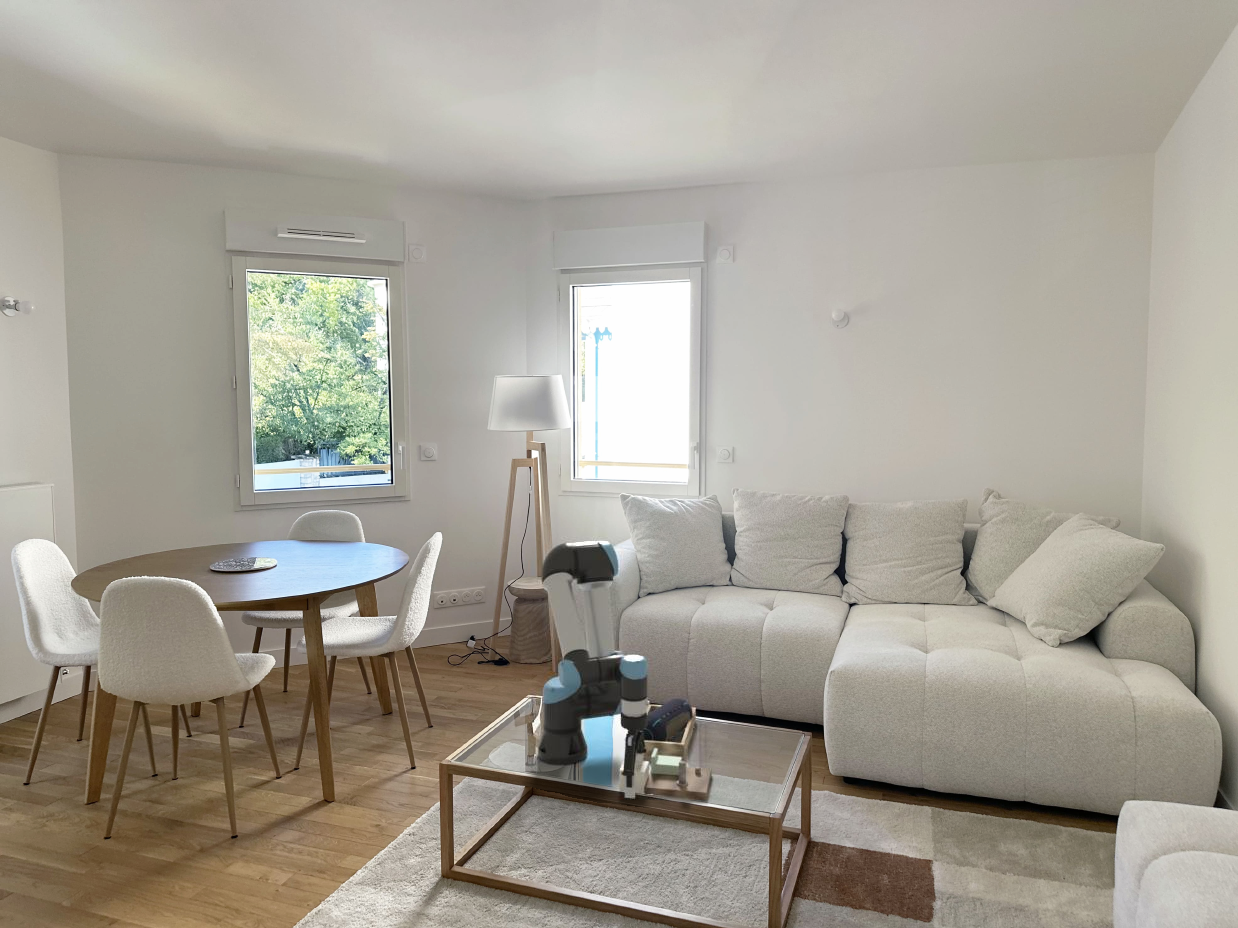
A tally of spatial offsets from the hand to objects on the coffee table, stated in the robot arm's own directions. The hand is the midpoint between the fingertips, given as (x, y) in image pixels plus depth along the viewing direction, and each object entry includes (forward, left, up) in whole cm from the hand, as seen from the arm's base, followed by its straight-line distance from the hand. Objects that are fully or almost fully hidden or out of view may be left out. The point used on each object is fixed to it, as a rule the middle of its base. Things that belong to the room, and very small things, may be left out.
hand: (634, 786), depth 235 cm
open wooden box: (+3, +35, 0) cm, 35 cm away
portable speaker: (+3, +35, 0) cm, 35 cm away
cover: (+8, +8, +2) cm, 11 cm away
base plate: (+12, +4, 0) cm, 12 cm away
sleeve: (0, 0, 0) cm, 0 cm away
